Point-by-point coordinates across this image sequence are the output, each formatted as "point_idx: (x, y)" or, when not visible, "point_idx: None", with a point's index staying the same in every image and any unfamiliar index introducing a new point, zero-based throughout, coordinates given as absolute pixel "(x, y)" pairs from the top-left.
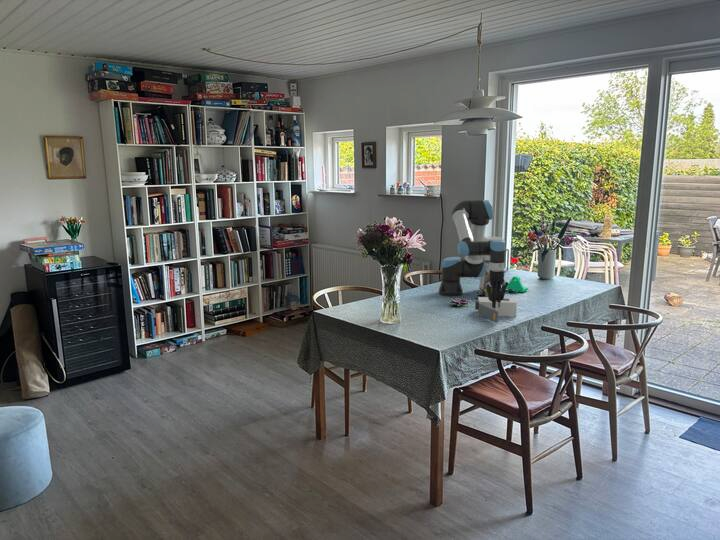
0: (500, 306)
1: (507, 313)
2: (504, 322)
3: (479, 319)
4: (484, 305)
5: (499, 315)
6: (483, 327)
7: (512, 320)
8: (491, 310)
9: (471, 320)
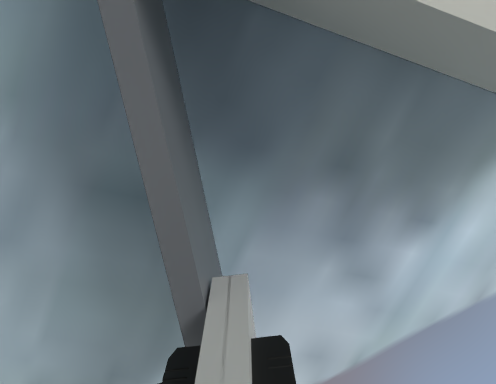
0: (451, 41)
1: (488, 82)
2: (327, 272)
3: (106, 119)
4: (147, 62)
5: (387, 51)
6: (65, 369)
7: (440, 227)
8: (178, 304)
9: (3, 136)
